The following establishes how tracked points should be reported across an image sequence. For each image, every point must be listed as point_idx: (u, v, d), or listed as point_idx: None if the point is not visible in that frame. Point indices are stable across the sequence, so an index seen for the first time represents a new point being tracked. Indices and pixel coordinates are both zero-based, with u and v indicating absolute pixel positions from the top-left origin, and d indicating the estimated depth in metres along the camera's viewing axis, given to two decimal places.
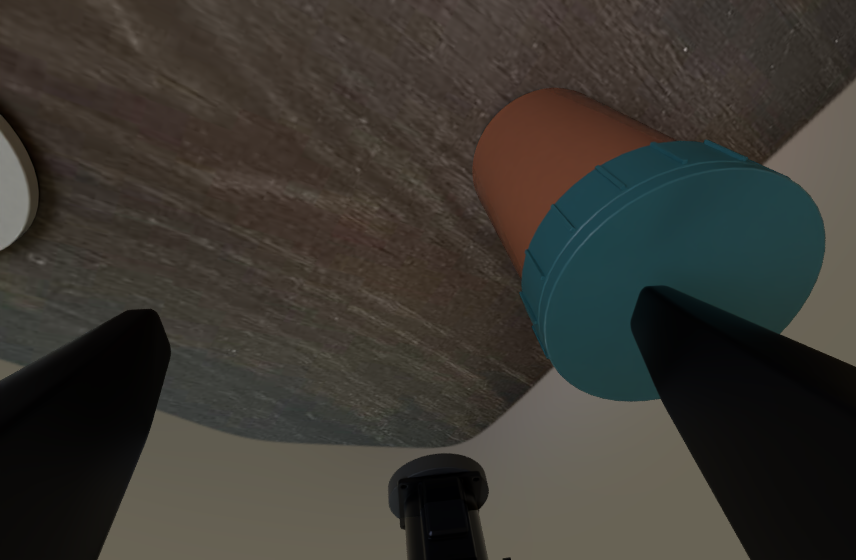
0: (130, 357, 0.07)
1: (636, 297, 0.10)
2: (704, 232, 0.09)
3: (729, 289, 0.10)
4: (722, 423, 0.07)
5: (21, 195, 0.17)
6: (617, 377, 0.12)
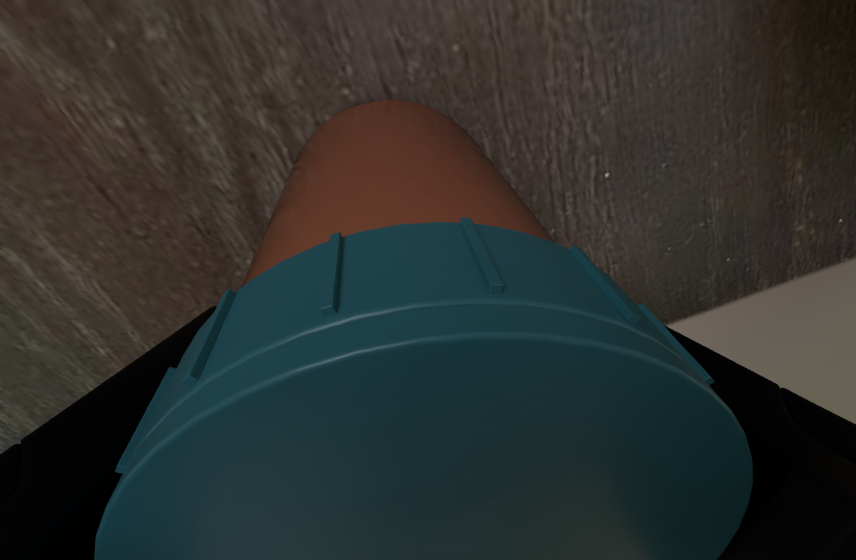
0: None
1: None
2: (340, 497, 0.04)
3: (528, 529, 0.04)
4: None
5: None
6: None
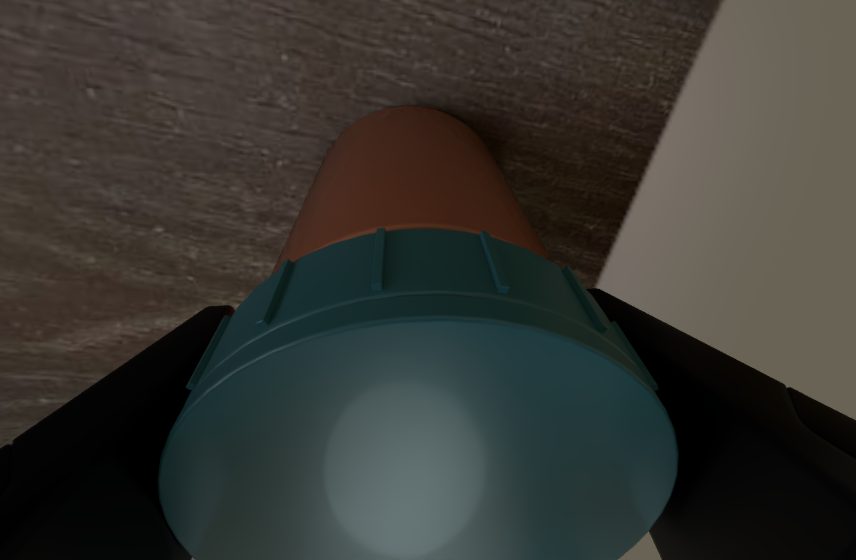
0: None
1: (348, 484, 0.05)
2: (491, 426, 0.05)
3: (508, 519, 0.06)
4: None
5: None
6: None
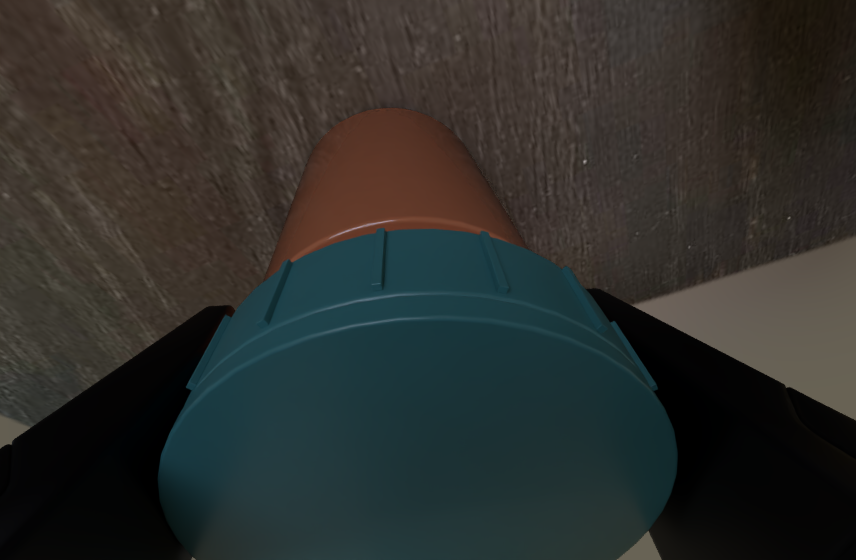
0: None
1: (348, 484, 0.05)
2: (490, 425, 0.05)
3: (507, 518, 0.06)
4: None
5: None
6: None
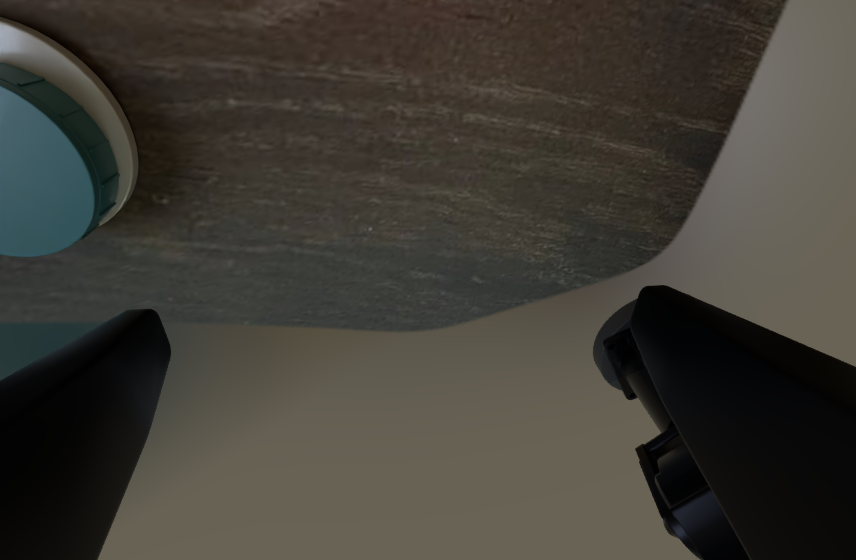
0: (130, 357, 0.07)
1: None
2: None
3: (22, 176, 0.15)
4: (722, 423, 0.07)
5: (113, 123, 0.16)
6: None
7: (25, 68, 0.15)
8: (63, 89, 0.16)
